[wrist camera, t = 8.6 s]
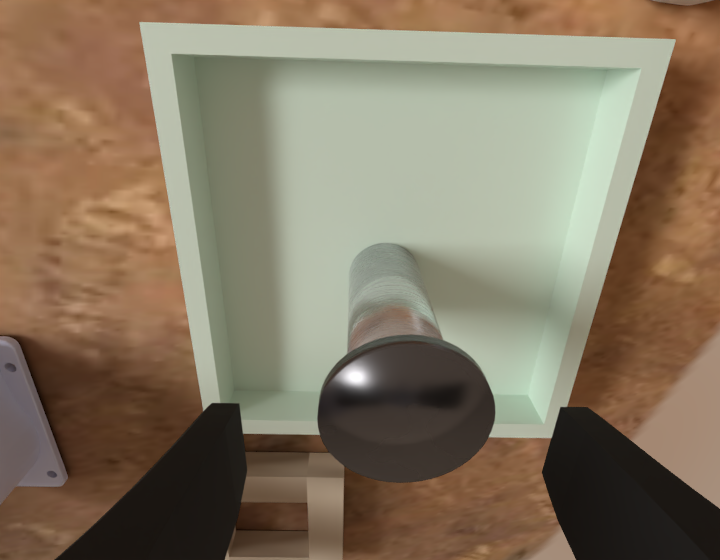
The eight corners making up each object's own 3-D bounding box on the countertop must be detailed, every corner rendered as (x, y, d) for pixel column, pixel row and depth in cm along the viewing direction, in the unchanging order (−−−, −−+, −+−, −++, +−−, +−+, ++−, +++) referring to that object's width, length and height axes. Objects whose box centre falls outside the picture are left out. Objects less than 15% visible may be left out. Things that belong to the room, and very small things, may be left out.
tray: (172, 31, 15) (139, 22, 13) (628, 45, 15) (676, 39, 13) (222, 396, 22) (206, 433, 19) (536, 401, 22) (557, 438, 20)
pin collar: (189, 451, 23) (178, 475, 22) (344, 453, 23) (343, 477, 22) (208, 550, 27) (199, 577, 25) (342, 551, 27) (342, 578, 25)
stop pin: (333, 224, 17) (317, 344, 10) (441, 228, 17) (511, 349, 10) (331, 318, 19) (317, 481, 11) (429, 321, 19) (480, 483, 12)
